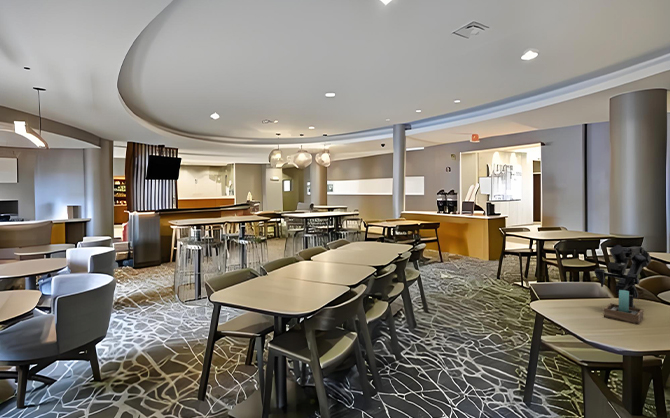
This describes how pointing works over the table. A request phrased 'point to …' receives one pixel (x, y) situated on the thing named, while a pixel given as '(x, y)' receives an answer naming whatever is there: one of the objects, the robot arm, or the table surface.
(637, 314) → the tray
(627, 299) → the peg
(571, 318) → the table surface
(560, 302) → the table surface
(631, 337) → the table surface
